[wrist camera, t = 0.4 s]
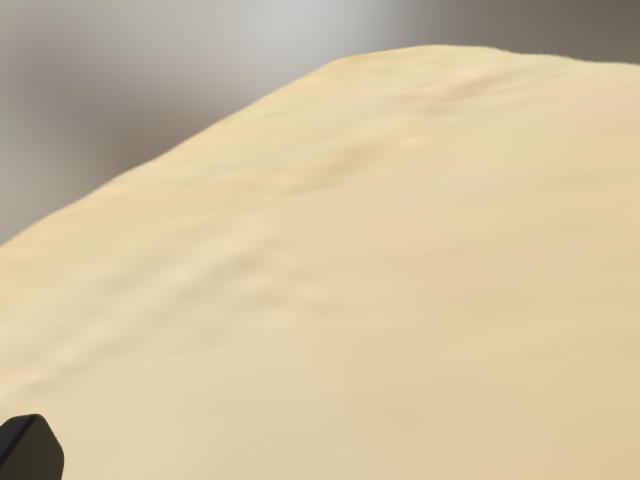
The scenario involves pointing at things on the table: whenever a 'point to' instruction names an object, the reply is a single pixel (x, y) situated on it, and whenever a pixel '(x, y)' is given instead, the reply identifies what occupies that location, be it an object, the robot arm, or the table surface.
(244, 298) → the table surface
